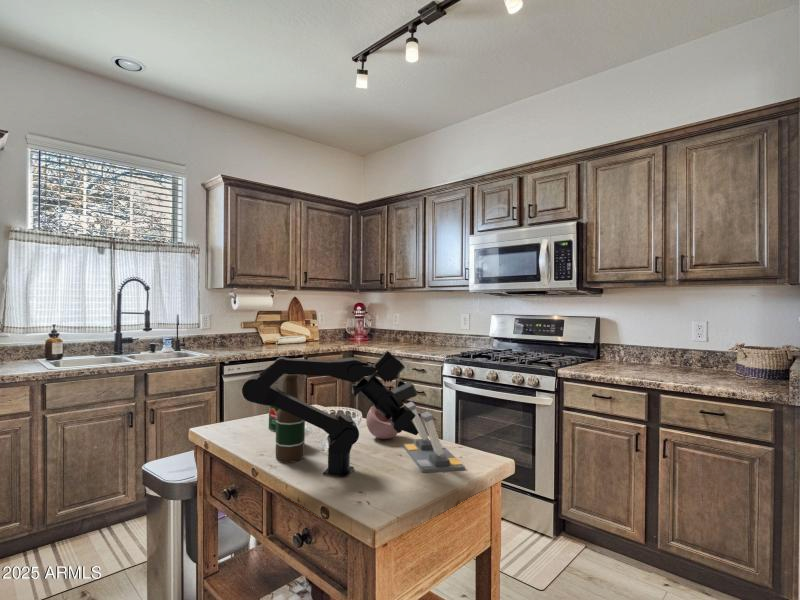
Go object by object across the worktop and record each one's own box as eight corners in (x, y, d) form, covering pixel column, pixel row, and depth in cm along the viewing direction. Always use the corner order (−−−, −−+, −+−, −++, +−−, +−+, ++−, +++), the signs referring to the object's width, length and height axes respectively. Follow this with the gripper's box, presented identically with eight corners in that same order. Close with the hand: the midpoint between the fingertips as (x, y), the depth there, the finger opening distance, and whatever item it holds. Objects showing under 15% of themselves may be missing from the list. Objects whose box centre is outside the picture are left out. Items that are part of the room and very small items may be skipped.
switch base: (422, 472, 120) (422, 463, 120) (402, 446, 141) (402, 439, 141) (464, 469, 122) (465, 461, 122) (439, 444, 144) (439, 437, 144)
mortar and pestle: (386, 446, 141) (387, 409, 141) (358, 438, 148) (359, 403, 148) (409, 437, 150) (410, 403, 150) (381, 431, 157) (382, 398, 158)
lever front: (438, 460, 123) (424, 418, 122) (434, 455, 127) (420, 414, 126) (446, 457, 123) (432, 415, 122) (441, 451, 127) (427, 411, 126)
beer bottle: (289, 465, 123) (291, 377, 123) (269, 459, 127) (271, 374, 127) (309, 457, 130) (311, 373, 130) (289, 452, 134) (291, 371, 134)
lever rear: (424, 444, 136) (408, 408, 135) (420, 440, 141) (405, 404, 139) (431, 441, 137) (415, 404, 136) (426, 436, 141) (411, 401, 140)
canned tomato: (270, 432, 153) (271, 399, 153) (266, 426, 160) (267, 395, 160) (293, 430, 156) (294, 398, 156) (289, 424, 164) (290, 393, 164)
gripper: (407, 378, 113) (448, 420, 116) (392, 367, 131) (427, 404, 134) (376, 411, 111) (418, 453, 114) (364, 395, 130) (401, 432, 132)
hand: (417, 433), depth 124 cm, fingers closed
